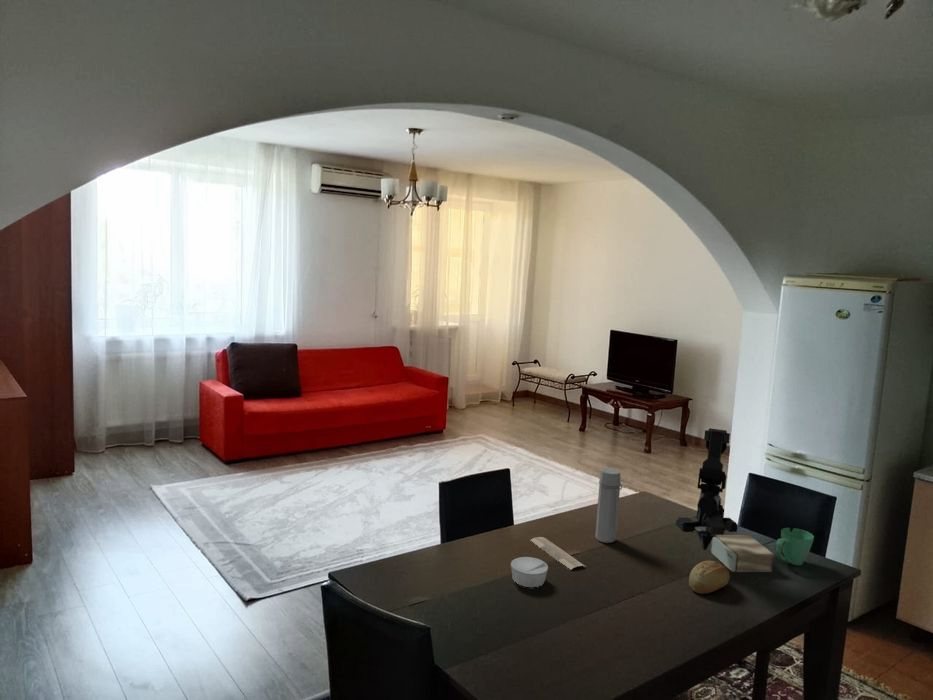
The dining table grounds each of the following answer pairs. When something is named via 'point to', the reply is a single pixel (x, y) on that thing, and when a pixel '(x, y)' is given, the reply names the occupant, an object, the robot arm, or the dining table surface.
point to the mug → (794, 545)
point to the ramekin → (529, 571)
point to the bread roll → (708, 577)
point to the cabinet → (748, 553)
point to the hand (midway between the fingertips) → (704, 549)
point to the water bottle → (608, 505)
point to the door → (723, 553)
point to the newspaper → (556, 552)
